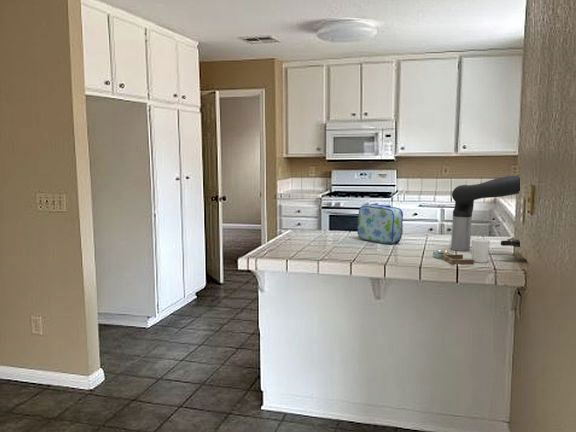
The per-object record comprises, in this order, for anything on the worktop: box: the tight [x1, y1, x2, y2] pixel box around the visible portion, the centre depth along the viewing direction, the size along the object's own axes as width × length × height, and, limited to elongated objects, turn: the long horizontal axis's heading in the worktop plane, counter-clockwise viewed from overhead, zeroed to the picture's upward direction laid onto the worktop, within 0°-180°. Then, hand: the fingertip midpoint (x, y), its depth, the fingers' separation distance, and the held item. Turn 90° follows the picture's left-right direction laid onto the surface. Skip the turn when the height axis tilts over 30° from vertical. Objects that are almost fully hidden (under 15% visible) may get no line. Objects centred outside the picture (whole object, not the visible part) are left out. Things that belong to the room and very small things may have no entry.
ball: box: [435, 249, 444, 254], centre depth 248 cm, size 3×3×3 cm
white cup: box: [471, 238, 491, 264], centre depth 240 cm, size 8×8×10 cm
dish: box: [432, 251, 454, 260], centre depth 248 cm, size 7×7×2 cm
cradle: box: [441, 254, 475, 266], centre depth 239 cm, size 12×10×2 cm
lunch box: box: [357, 203, 404, 245], centre depth 288 cm, size 26×11×21 cm, turn 42°
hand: (501, 243), depth 241 cm, fingers closed
